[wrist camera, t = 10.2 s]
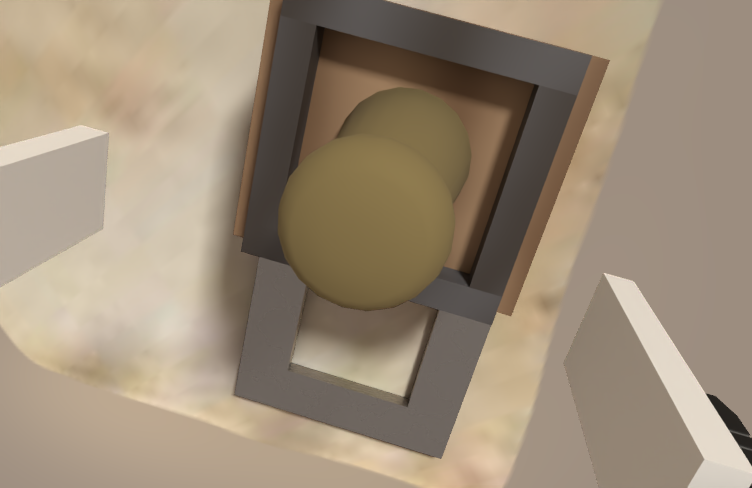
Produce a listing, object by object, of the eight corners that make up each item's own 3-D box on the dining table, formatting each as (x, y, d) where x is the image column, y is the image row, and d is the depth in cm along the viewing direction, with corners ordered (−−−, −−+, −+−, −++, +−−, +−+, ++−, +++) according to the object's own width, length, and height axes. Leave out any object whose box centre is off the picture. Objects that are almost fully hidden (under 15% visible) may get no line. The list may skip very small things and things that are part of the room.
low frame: (239, 386, 44) (234, 394, 43) (275, 192, 38) (270, 196, 37) (441, 449, 43) (441, 458, 42) (512, 260, 37) (513, 266, 36)
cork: (323, 200, 27) (231, 307, 17) (353, 70, 25) (267, 101, 14) (448, 237, 27) (432, 369, 16) (490, 108, 24) (501, 169, 14)
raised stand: (292, 182, 37) (220, 245, 27) (330, -15, 33) (262, -32, 22) (501, 242, 37) (512, 331, 26) (571, 49, 32) (618, 62, 22)
